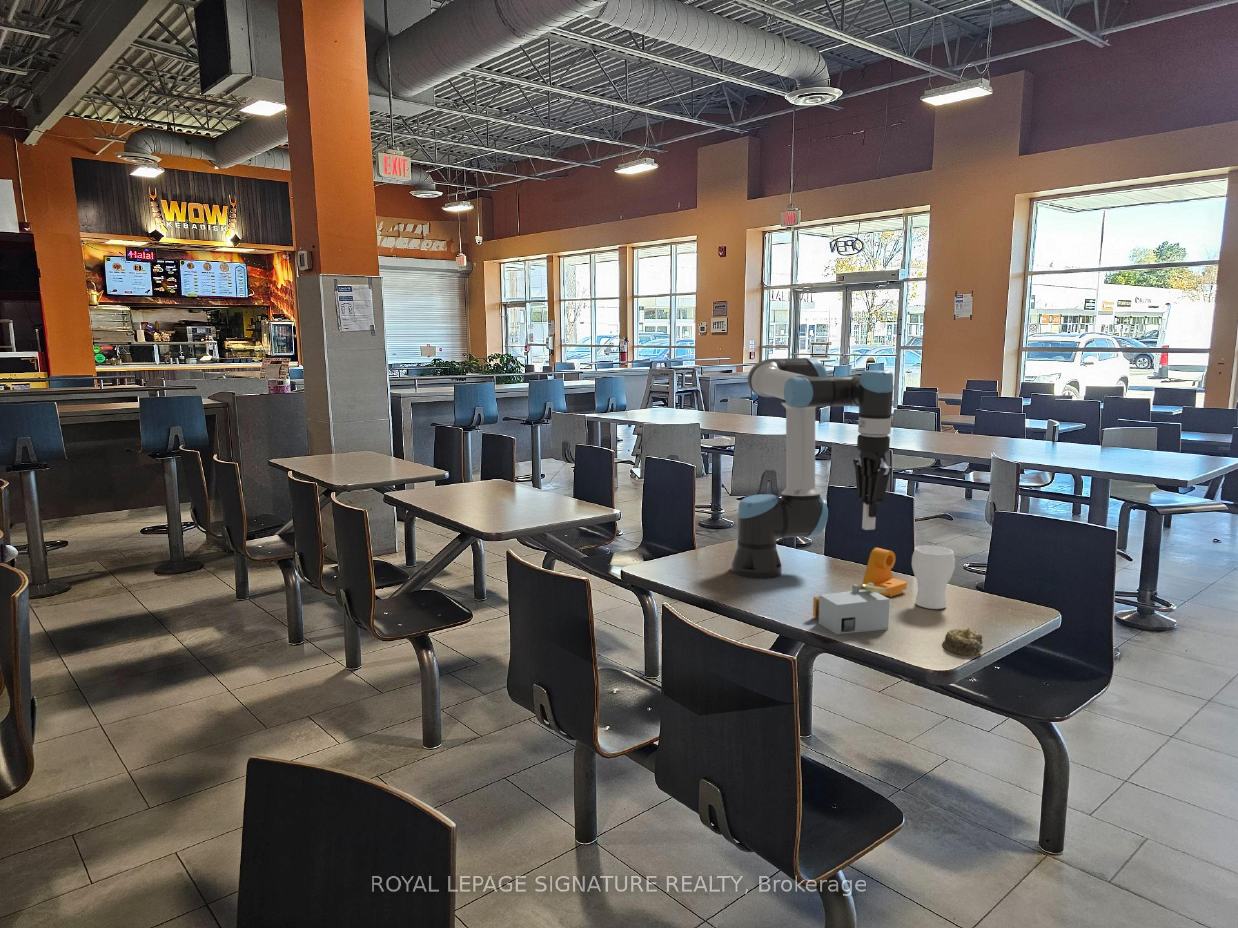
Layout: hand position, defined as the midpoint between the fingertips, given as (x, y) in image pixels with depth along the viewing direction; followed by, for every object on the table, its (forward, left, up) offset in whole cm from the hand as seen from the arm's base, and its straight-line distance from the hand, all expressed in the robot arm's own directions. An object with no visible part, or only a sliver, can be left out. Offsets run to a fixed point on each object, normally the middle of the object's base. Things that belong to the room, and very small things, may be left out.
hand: (868, 528), depth 195 cm
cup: (-5, +24, -24) cm, 34 cm away
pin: (-4, -10, -24) cm, 26 cm away
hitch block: (+4, -6, -24) cm, 25 cm away
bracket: (-18, +19, -24) cm, 36 cm away
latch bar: (+1, -1, -15) cm, 15 cm away
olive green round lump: (+23, +11, -24) cm, 35 cm away
